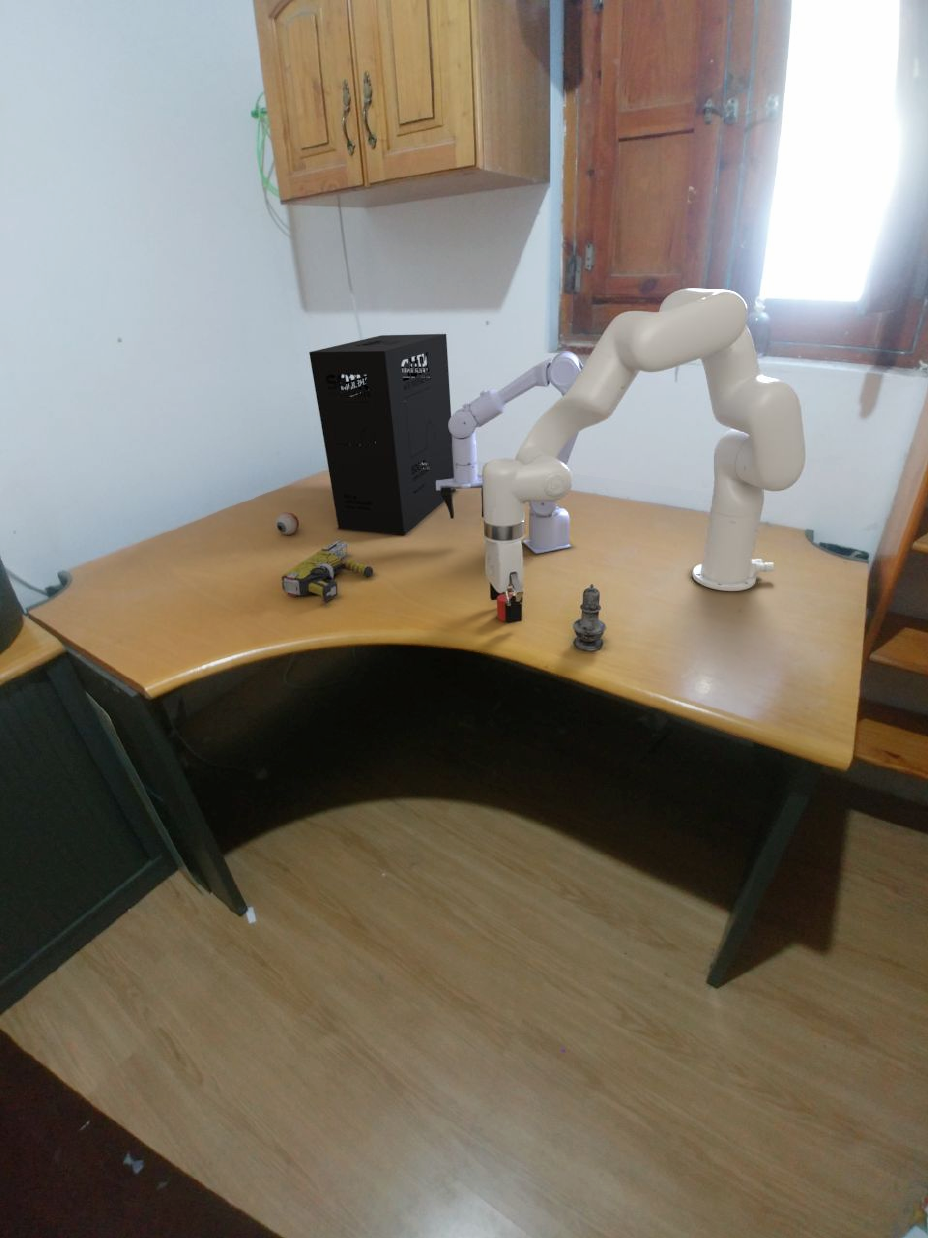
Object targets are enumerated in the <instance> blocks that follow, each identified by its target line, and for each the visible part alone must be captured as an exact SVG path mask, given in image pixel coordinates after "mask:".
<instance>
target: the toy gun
mask: <svg viewBox="0 0 928 1238" xmlns="http://www.w3.org/2000/svg"><path fill="white" fill-rule="evenodd" d="M345 548H348V543H347V542H346V541H343V540H342V541H341V540H339V539H338V540H335V541H334V542H333V543H331V544H330V545H327V546H326V547H325V548H321V549H320V550H318V551H317V552H316V553H314V554H312V555H311V556H310V557H307V559H305V560H304V561H302V562H300V563H299V564H298V565H296V566H294V567H293V568H291V569H290V570H288V571H287V572H285V573H284V574H282V576H281V585H282V586H281V587H282V590H283V591H284V592H285V593H287V596H292V597H295V596H302V597H303V596H307V595H310V594H315V595H318V596H320V597H322V601H323V602H325V603H327V602H328V601H330V600H332V599H333V598H335V597H337V596H338V594H339V593H338V582H337V581H336V580H334V578H335V577H334V575H336V574H337V573H340V572H342V571H343V570H346V571H349V572H353V573H355V574H358V575H361V576H364V577H366V578H370V577H372V576H373V575H374V569H373V567H372V566H370V565H365V564H361V563H359V562H357V561H352V560H349V559H347V560H345V561H344V562H342V560H343V558H344V557H347V556H348V554H349V553H348V549H346V552H344V549H345Z"/></svg>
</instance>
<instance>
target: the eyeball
mask: <svg viewBox="0 0 928 1238" xmlns="http://www.w3.org/2000/svg"><path fill="white" fill-rule="evenodd" d="M299 525H300V522H299V519H298V517H297V516H296V515H295V514H294V513H292V512H287V511H286V512H282V513H280V514H279V515H278V516H277V517H276V520H275V527H276V529H277V530H278V531H279V532H280V533H281V534H282V535H285V536H286V535H287V536H289V535H293V534H295V533H296V532H297V531H298V529H299Z"/></svg>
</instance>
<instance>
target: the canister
mask: <svg viewBox="0 0 928 1238" xmlns="http://www.w3.org/2000/svg"><path fill="white" fill-rule="evenodd" d="M509 595H510V599H511V597H512V596H514V594H510V593H509ZM505 604H507V602H506V597H505V594H501V595H499V596H498V597H497V600H496V611H497V612H496V614H497V615H496V617H497V619H498V620H499V621H500V622H501V621H502V622H506V621H505Z"/></svg>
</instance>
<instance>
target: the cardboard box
mask: <svg viewBox="0 0 928 1238" xmlns="http://www.w3.org/2000/svg"><path fill="white" fill-rule="evenodd" d="M308 353H309V359H310V365H311V373H312V377H313V382H314V383H313V384H314V389H315V395H316V396H315V397H316V402H317V406H318V407H317V408H318V413H319V421H320V425H321V426H320V427H321V431H322V437H323V443H324V445H323V446H324V449H325V456H326V462H327V469H328V474H329V481H330V485H331V492H332V499H333V505H334V511H335V517H336V522H337V528H338V529H339V530H348V531H356V532H367V533H379V534H387V535H388V534H389V535H400V536H406V535H407V534H408V533H409V532H410V531H411V530H413V529H414V528H415V527H416V526H417V525H418V524H419V523H421V522H422V521H423V520H424V519H425V518H426V517H427V516H428V515H430V514H431V513H432V512H433V511H435V509H437V508H438V507H439V506H440V505H441V504H442V503H443V502H445V501H444V499H443V498H442V496H441V490H436V480H446V479H453V478H454V470H453V454H452V434H451V433H450V431H449V427H448V423H449V420H450V418H451V416H452V406H451V405H452V404H451V390H450V372H449V371H450V370H449V356H448V341H447V333H429V334H428V333H424V334H423V333H421V334H419V333H417V334H384V335H383V334H381V335H377V336H372V337H368V338H364V339H359V340H355V341H351V342H347V343H343V344H338V345H334V346H329V347H325V348H321V349H317V350H312V351H309V352H308ZM413 359H414V360H413ZM406 360H407V361H406ZM403 361H405V362H404V364H403ZM425 361H426V364H425ZM402 364H403V365H402ZM351 376H353V379H352V378H351ZM358 376H359V377H358ZM347 378H348V381H347ZM456 491H457V489H452V494H454V493H455V492H456Z"/></svg>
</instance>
